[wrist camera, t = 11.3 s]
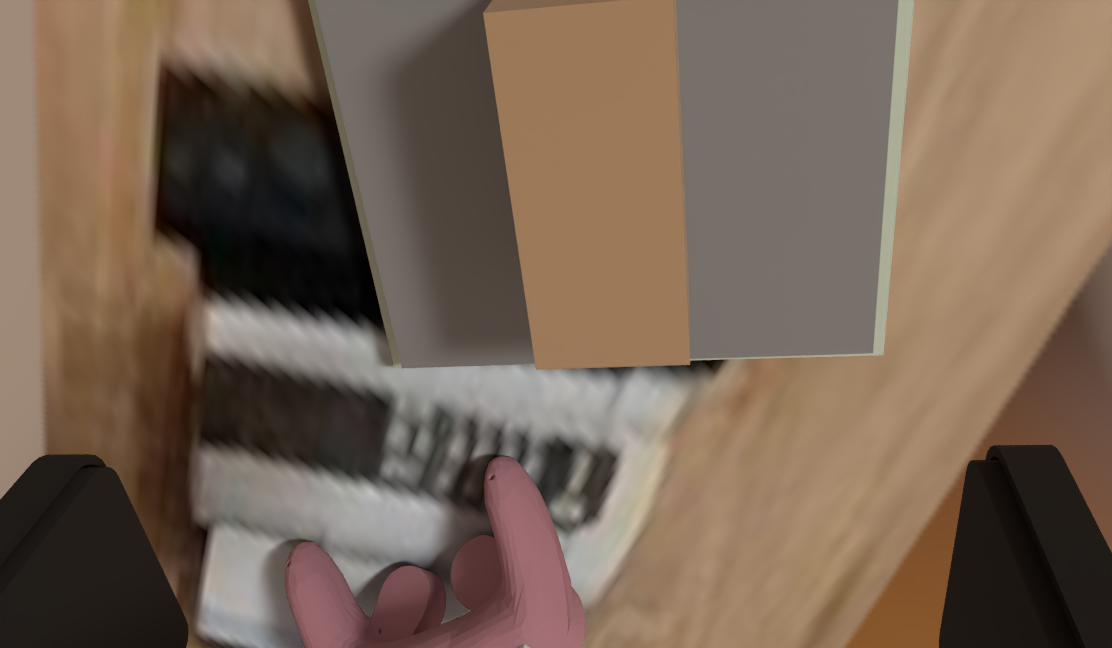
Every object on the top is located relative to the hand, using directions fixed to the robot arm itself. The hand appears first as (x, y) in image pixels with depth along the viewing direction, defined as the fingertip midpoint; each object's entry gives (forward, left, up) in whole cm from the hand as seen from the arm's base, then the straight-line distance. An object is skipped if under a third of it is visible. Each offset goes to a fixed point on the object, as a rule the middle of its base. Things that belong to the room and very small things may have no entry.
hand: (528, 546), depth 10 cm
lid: (0, 0, -15) cm, 15 cm away
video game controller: (+15, -7, -16) cm, 23 cm away
